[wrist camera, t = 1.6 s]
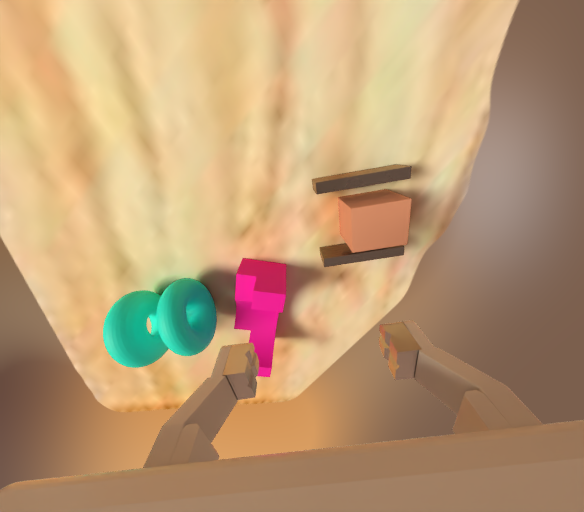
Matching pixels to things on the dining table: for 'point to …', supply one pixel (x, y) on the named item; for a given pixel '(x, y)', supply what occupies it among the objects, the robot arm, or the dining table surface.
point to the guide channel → (353, 180)
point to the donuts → (160, 323)
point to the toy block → (260, 305)
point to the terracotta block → (374, 220)
